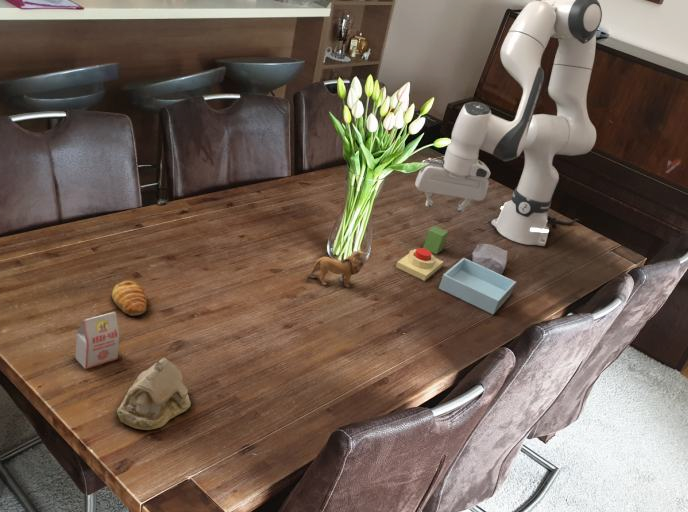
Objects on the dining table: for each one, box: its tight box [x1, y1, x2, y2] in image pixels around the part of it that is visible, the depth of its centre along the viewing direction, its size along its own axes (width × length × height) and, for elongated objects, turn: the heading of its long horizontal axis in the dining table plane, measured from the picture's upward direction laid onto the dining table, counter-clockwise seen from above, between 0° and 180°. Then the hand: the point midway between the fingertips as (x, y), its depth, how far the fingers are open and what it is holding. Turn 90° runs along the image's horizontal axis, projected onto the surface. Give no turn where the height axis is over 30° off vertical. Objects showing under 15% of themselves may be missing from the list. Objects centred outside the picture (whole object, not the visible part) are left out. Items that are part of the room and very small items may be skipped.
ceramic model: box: [116, 357, 192, 431], centre depth 136 cm, size 14×11×10 cm
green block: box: [422, 225, 449, 255], centre depth 219 cm, size 4×4×6 cm
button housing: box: [395, 248, 444, 282], centre depth 208 cm, size 12×9×4 cm
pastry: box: [111, 280, 148, 317], centre depth 162 cm, size 9×7×4 cm
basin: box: [438, 257, 517, 315], centre depth 204 cm, size 15×16×4 cm
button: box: [415, 247, 433, 261], centre depth 207 cm, size 4×4×2 cm
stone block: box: [471, 243, 508, 275], centre depth 221 cm, size 12×5×10 cm
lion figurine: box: [305, 250, 367, 288], centre depth 189 cm, size 15×5×9 cm, turn 110°
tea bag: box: [75, 311, 120, 370], centre depth 143 cm, size 4×7×10 cm, turn 135°
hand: (443, 208), depth 214 cm, fingers open, 8 cm apart
